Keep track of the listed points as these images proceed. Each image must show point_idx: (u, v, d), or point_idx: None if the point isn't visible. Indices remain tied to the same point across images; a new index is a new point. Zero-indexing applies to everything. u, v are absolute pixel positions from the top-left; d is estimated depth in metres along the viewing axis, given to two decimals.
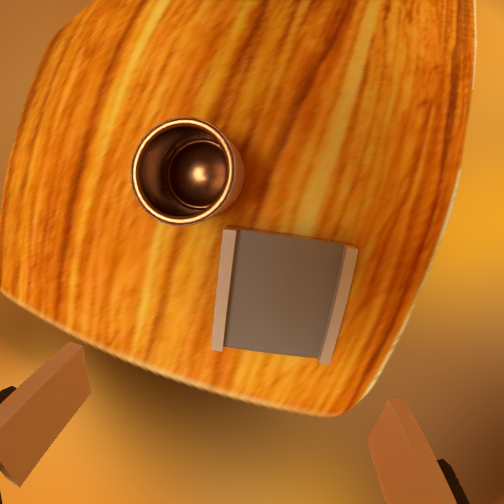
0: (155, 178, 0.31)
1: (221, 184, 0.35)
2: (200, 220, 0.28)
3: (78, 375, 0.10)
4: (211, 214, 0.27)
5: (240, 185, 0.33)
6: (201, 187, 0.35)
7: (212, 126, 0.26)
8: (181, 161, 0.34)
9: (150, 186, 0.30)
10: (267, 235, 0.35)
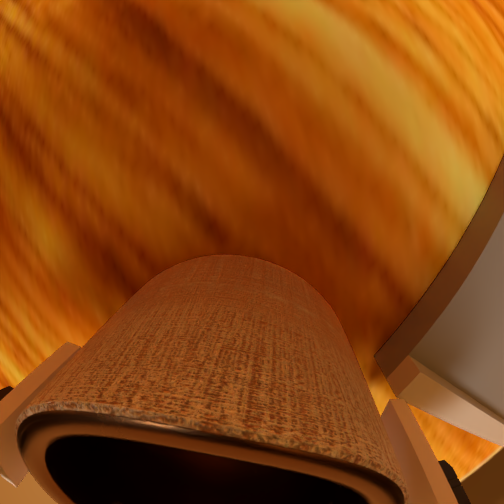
0: (191, 480, 0.10)
1: None
2: None
3: None
4: None
5: (329, 320, 0.09)
6: None
7: (44, 413, 0.04)
8: None
9: None
10: (459, 293, 0.11)
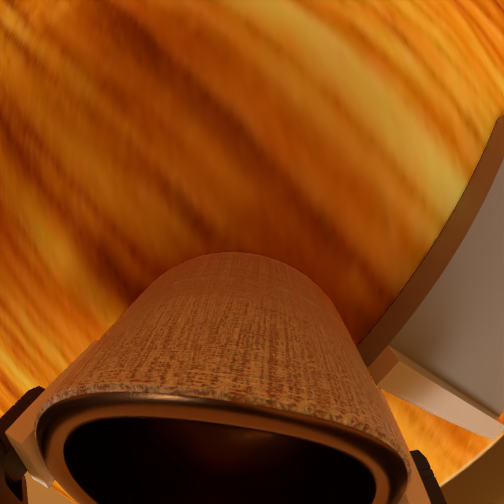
0: (198, 471, 0.11)
1: None
2: None
3: None
4: (403, 494, 0.05)
5: (331, 311, 0.10)
6: None
7: (73, 398, 0.04)
8: None
9: None
10: (437, 285, 0.11)
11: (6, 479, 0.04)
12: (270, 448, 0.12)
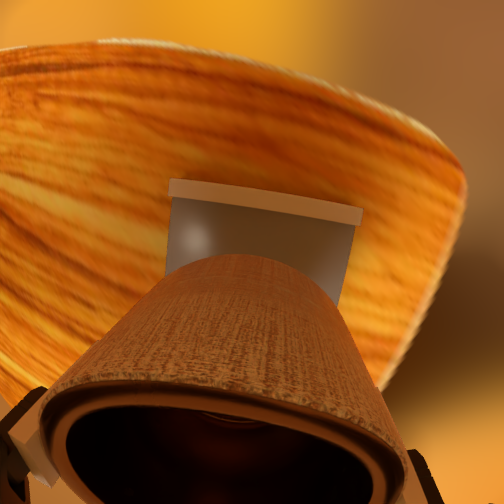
0: (199, 470, 0.11)
1: None
2: None
3: None
4: (400, 493, 0.05)
5: (332, 312, 0.10)
6: None
7: (77, 386, 0.05)
8: None
9: None
10: None
11: (9, 480, 0.04)
12: (271, 449, 0.12)
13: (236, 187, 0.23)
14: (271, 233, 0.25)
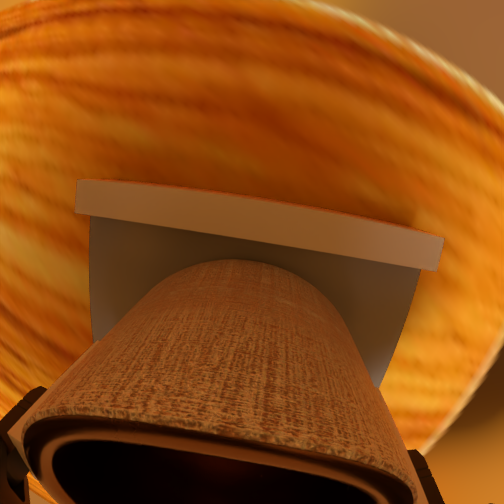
0: (196, 484, 0.10)
1: None
2: None
3: None
4: None
5: (337, 324, 0.09)
6: None
7: (54, 417, 0.04)
8: None
9: None
10: None
11: (8, 479, 0.04)
12: None
13: (195, 194, 0.11)
14: None
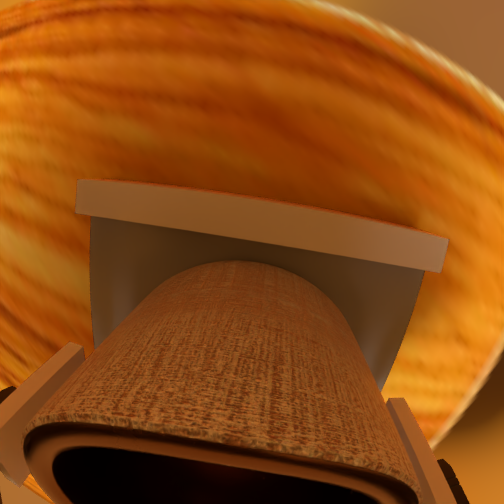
0: (198, 487, 0.10)
1: None
2: None
3: None
4: None
5: (341, 326, 0.09)
6: None
7: (54, 424, 0.04)
8: None
9: None
10: None
11: None
12: None
13: (197, 194, 0.11)
14: None
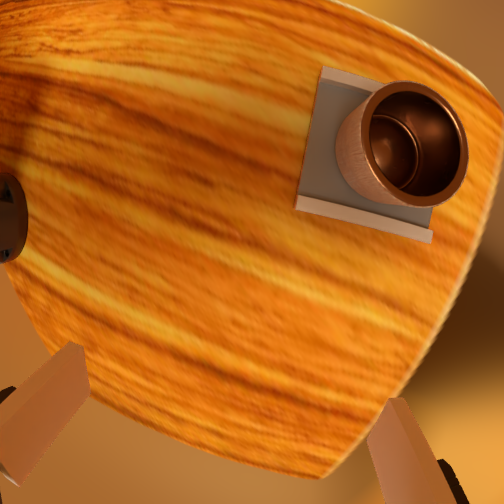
0: None
1: (405, 140, 0.27)
2: (467, 158, 0.19)
3: (78, 375, 0.10)
4: (467, 144, 0.19)
5: None
6: (400, 159, 0.27)
7: (393, 83, 0.18)
8: None
9: None
10: (306, 162, 0.30)
11: None
12: (406, 191, 0.26)
13: (372, 80, 0.26)
14: None
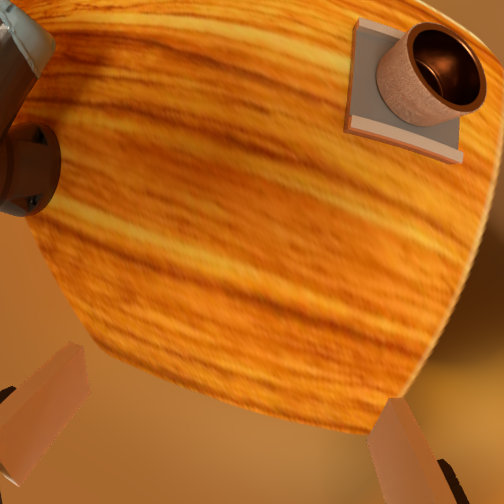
0: None
1: (430, 77, 0.27)
2: (485, 81, 0.19)
3: (78, 375, 0.10)
4: (483, 71, 0.19)
5: None
6: None
7: (424, 23, 0.19)
8: None
9: None
10: (353, 91, 0.30)
11: None
12: None
13: (399, 31, 0.26)
14: None
